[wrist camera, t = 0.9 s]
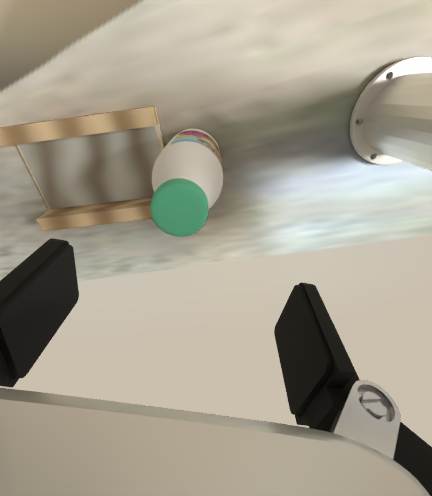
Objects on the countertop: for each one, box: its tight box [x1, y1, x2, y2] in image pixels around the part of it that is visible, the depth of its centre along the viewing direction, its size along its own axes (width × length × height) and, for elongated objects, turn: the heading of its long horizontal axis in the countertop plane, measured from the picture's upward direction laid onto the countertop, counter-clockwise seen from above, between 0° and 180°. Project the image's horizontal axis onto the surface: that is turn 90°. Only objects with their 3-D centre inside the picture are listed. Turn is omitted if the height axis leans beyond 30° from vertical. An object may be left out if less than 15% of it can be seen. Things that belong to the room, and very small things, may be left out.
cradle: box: [0, 106, 164, 231], centre depth 36 cm, size 20×14×4 cm
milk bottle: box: [150, 129, 223, 237], centre depth 28 cm, size 8×8×20 cm
